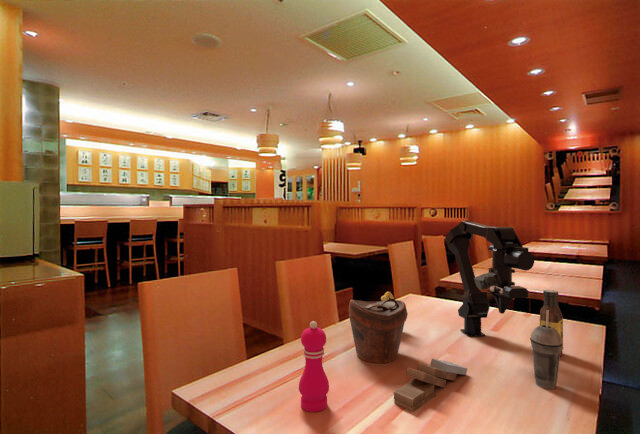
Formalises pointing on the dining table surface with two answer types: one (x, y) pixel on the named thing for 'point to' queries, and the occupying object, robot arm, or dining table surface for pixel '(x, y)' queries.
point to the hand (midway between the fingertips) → (501, 313)
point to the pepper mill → (313, 370)
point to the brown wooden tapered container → (377, 328)
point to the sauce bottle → (552, 312)
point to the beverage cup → (546, 354)
